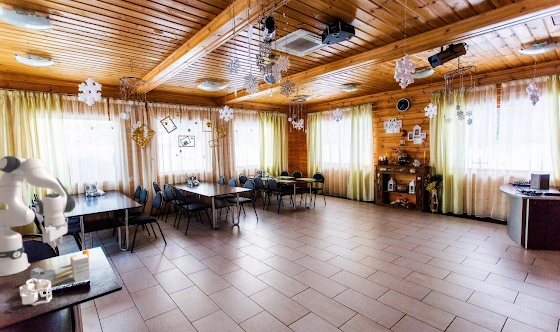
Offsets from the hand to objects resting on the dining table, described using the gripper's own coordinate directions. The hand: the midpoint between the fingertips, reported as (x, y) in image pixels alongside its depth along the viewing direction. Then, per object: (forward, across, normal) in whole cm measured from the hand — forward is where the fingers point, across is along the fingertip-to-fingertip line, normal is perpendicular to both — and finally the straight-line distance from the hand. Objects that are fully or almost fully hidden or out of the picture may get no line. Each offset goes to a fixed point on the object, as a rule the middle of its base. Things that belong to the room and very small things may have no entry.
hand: (56, 245), depth 159 cm
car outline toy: (+20, -22, 0) cm, 30 cm away
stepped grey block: (+20, -2, +10) cm, 22 cm away
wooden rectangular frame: (+20, -2, 0) cm, 20 cm away
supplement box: (+20, -3, -12) cm, 24 cm away
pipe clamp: (+20, +24, -1) cm, 31 cm away
